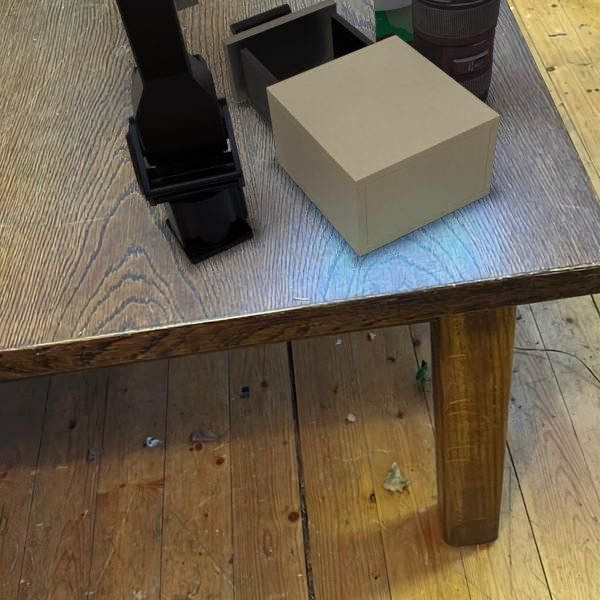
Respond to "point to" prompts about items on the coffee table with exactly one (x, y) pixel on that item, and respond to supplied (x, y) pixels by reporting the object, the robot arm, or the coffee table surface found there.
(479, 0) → the camera lens
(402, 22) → the food container
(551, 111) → the coffee table surface
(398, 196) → the tan cardboard box
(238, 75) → the dark open box
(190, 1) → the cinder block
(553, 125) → the coffee table surface
